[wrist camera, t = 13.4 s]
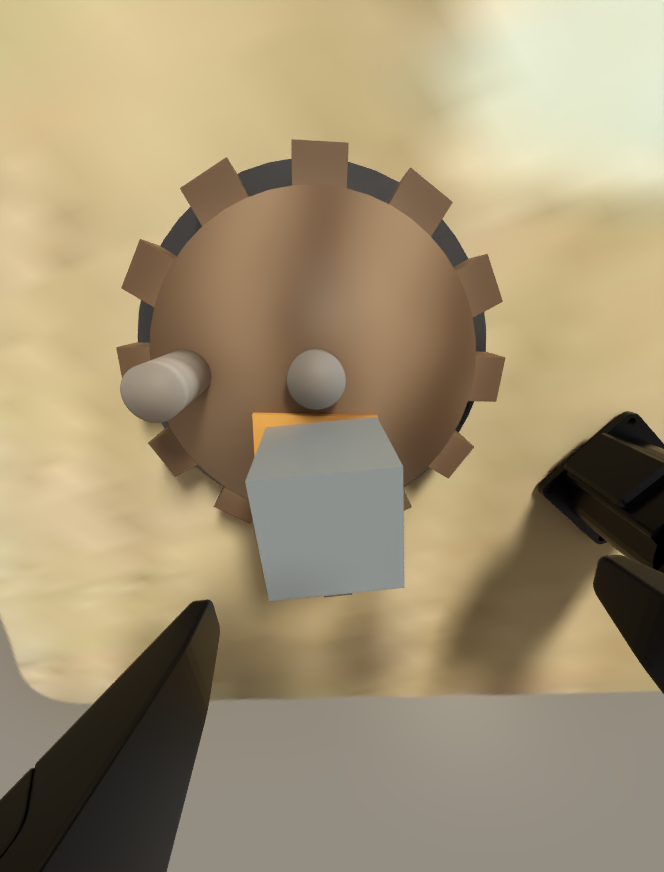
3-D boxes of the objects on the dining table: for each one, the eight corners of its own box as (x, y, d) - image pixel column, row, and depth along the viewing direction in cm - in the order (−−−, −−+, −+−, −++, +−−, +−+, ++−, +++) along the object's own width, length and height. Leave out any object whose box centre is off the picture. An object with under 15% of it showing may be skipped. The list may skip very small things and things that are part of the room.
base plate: (547, 343, 18) (555, 344, 17) (334, 552, 22) (335, 559, 22) (285, 52, 13) (283, 41, 13) (80, 386, 18) (73, 389, 17)
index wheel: (519, 172, 14) (631, 103, 9) (455, 512, 20) (501, 583, 15) (106, 149, 14) (-21, 57, 8) (166, 512, 20) (113, 587, 14)
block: (376, 416, 16) (403, 466, 11) (380, 511, 17) (404, 587, 13) (265, 427, 16) (245, 481, 11) (281, 520, 17) (269, 601, 13)
